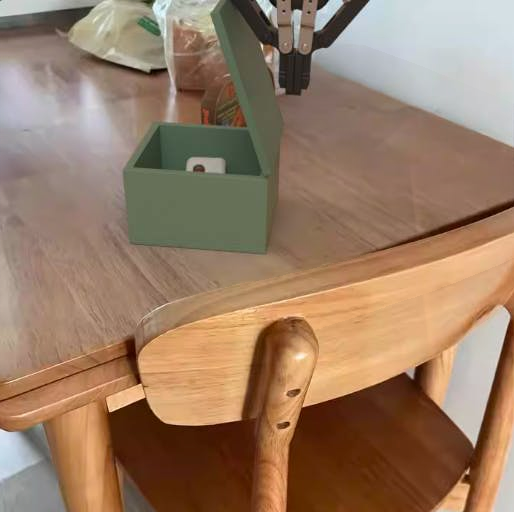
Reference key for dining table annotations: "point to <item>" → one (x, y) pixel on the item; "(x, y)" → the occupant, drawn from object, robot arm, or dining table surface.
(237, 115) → the tin
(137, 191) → the chest
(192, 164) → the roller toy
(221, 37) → the lid
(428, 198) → the dining table surface
